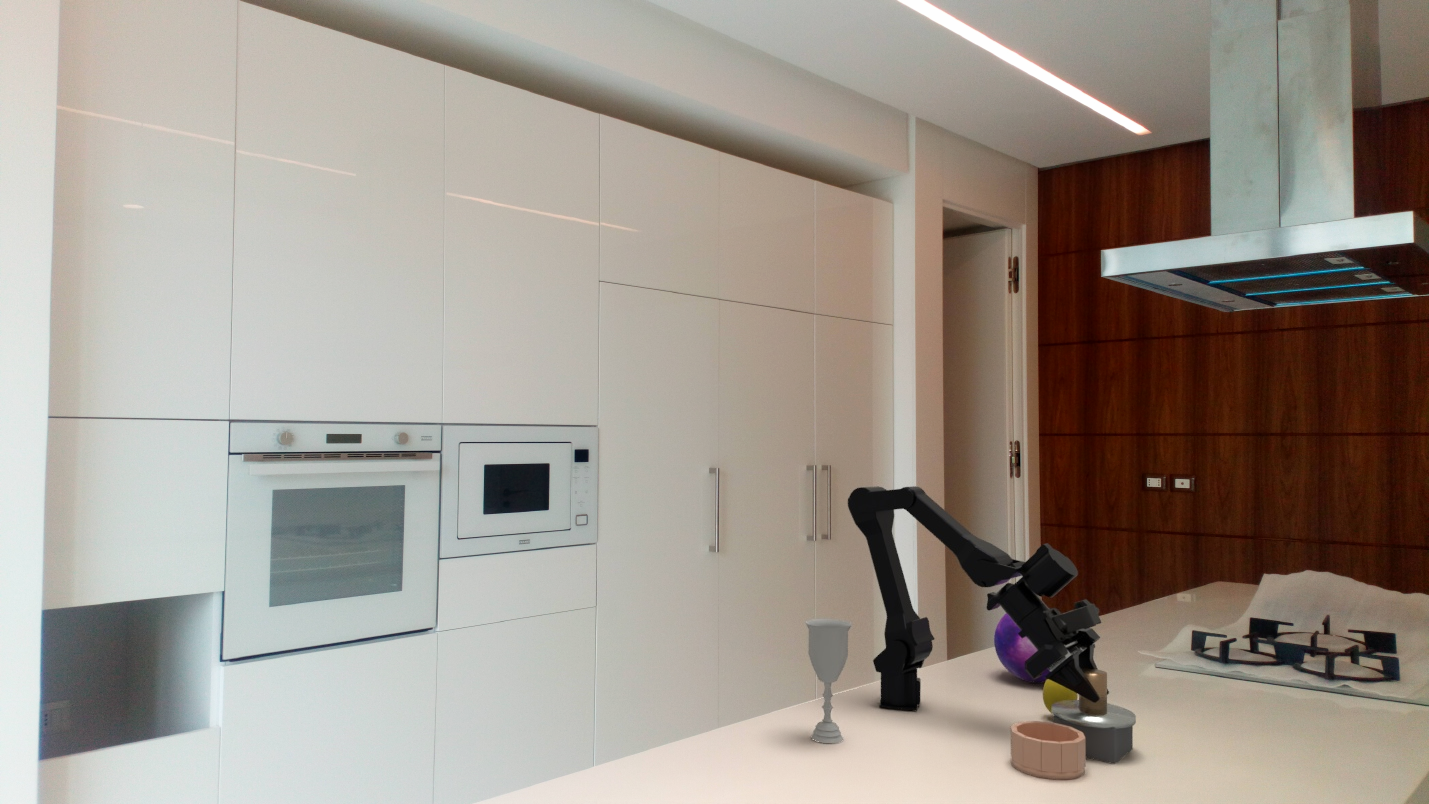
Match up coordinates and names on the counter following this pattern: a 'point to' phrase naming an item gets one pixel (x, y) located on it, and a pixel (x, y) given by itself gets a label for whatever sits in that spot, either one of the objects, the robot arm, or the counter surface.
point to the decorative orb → (1014, 649)
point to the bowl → (1047, 750)
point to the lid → (1094, 707)
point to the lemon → (1056, 694)
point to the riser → (1104, 741)
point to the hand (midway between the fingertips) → (1102, 697)
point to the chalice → (828, 667)
